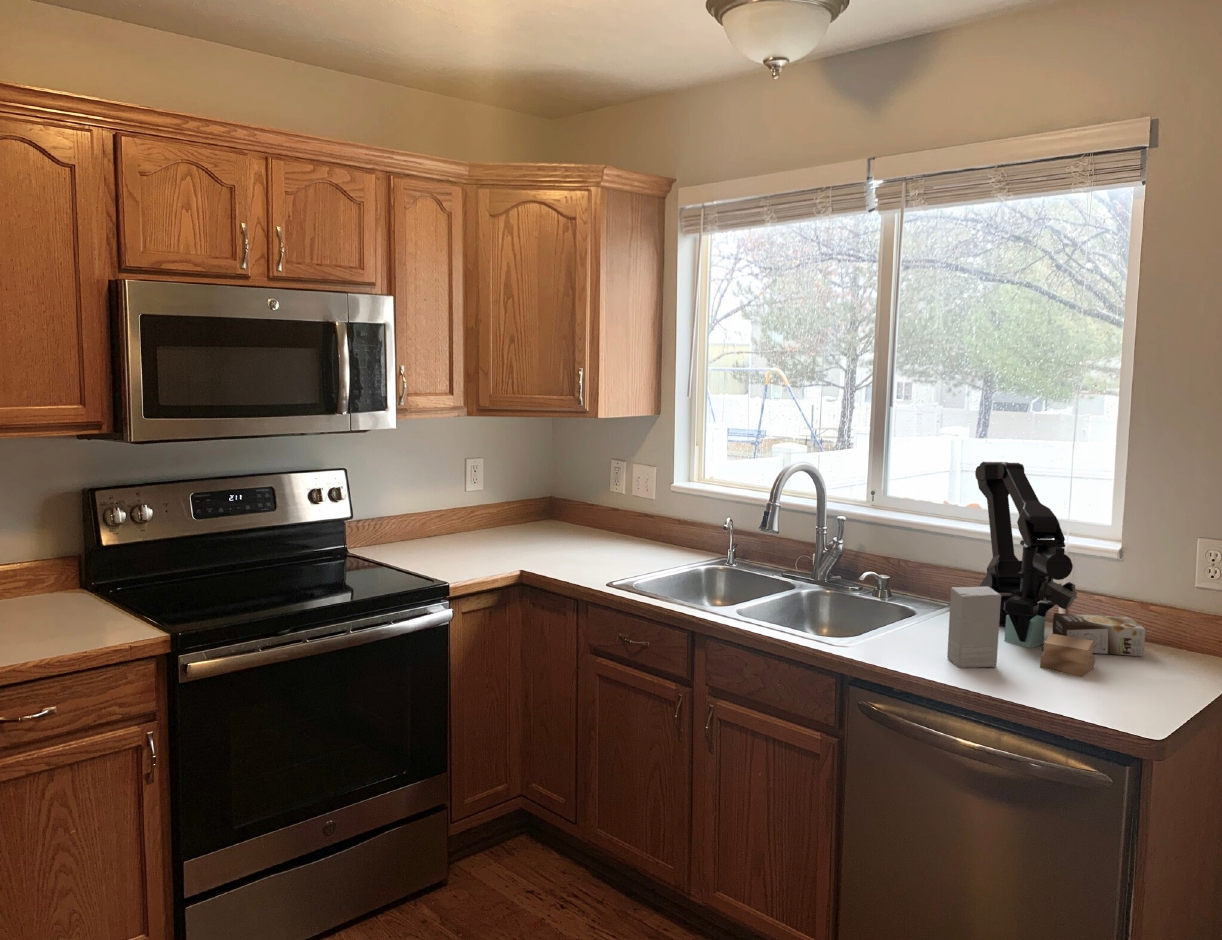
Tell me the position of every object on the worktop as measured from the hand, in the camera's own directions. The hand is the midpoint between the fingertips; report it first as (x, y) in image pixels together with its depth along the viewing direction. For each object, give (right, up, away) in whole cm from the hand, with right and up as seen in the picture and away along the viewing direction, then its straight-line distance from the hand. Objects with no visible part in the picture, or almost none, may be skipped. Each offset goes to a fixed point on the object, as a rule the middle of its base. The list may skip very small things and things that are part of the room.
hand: (1030, 637), depth 211 cm
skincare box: (-19, -3, -16) cm, 25 cm away
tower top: (0, -1, -18) cm, 18 cm away
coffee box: (+21, +1, -5) cm, 22 cm away
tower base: (0, -4, -17) cm, 18 cm away
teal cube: (-1, -1, 0) cm, 2 cm away
